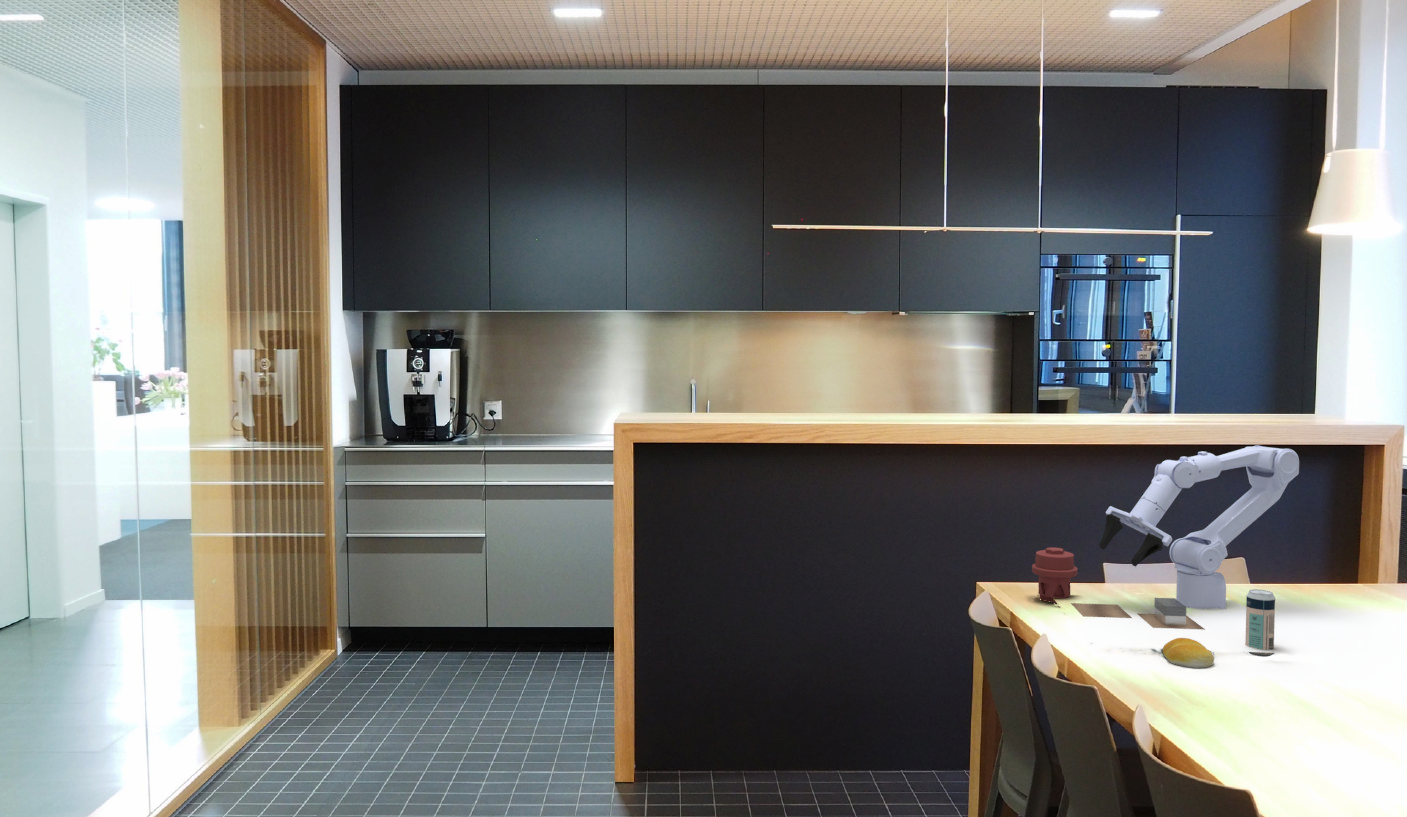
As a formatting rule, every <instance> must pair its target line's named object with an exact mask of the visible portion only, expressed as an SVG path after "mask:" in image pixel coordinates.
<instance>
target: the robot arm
mask: <svg viewBox="0 0 1407 817" xmlns="http://www.w3.org/2000/svg"><path fill="white" fill-rule="evenodd" d="M1244 467H1245V468H1246V473H1247V476H1248V481H1249V484H1250V485H1251V487H1250V489H1249V490H1248V491H1247V492H1245V493H1244V494H1243V495H1242V496H1241V497H1240V498H1238V499H1237V500H1236V501H1235V502H1234V503H1233V504H1231V505H1230V506H1229V507H1228V508H1227V509H1226V510H1224V511H1223V512H1222V513H1221V514H1220V515H1219V516H1217V518H1216V519H1214V520H1213V521H1212V522H1211V523H1209V524H1208V526H1206V527H1205V528H1204V529H1201V530H1198V531H1194V532H1193V531H1192V532H1189V534H1187V535H1186V536H1184V537H1182V538H1178V539H1175V540H1174V541H1173V538H1172V535H1169V533H1166V532H1165V531H1163V530H1161V529H1160V528H1158V527H1157V524H1159V522H1160V520H1162V518H1163V516H1164V515H1165V514H1166V512H1167V511H1168V509H1169V508H1170V507H1171V505H1172V504H1173V502H1174V501H1175V500H1176V498H1177V496H1178V495H1179V494H1180V493H1181V491H1182V490H1183V489H1190V488H1191V487H1192V486H1193V485H1195V484H1196V483H1198V482H1203V481H1206V480H1212V479H1215V478H1217V477H1219V476H1220V474H1221V472H1223V471H1227V470H1233V469H1237V468H1244ZM1299 474H1300V459H1299V455H1298V454H1297V452H1296V451H1295V450H1293V449H1291V448H1278V447H1270V446H1269V447H1268V446H1262V445H1258V444H1257V445H1254V446H1245V447H1244V448H1240V449H1237V450H1233V451H1229V452H1227V453H1223V454H1220V455H1215V454H1214V453H1211V452H1208V451H1198V452H1197V455H1193V456H1192V455H1191V456H1180V457H1179V459H1178V460H1173V459H1165V460H1164V461H1162V462H1161V463H1157V464H1156V466H1155V468H1154V476H1153V478H1152V480H1151V483H1150V485H1149V486H1148V487H1147V489H1146V490H1145V491H1144V492H1143V495H1142V496H1141V497H1140V498H1139V500H1138V501H1137V503H1136V504H1135V505H1134V507H1133V508H1132V510H1131V511H1130V512H1127V511H1124V510H1121V509H1118V508H1116V507H1115V506H1114V507H1113V506H1111V505H1110V506H1108V508H1107V509H1106V511H1105V514H1106V518H1105V526H1104V531H1103V534H1102V537H1101V540H1100V541H1099V544H1098V546H1099V547H1100V549H1102V550H1103V551H1104V550H1105V549H1106V548H1107V547H1108V545H1109V544H1110V543H1111V541H1112V539H1114V537H1115V536H1116V535H1117V534H1118V533H1119V532H1120V531H1121V530H1122V529H1123V524H1124V525H1126V526H1127V527H1130V528H1132V529H1134V530H1136V531H1137V532H1140V533H1142V534H1144V535H1145V536H1146V537H1145V538H1144V540H1143V542H1142V544H1141V545H1140V548H1139V549H1138V550H1137V552H1136V553H1135V554H1134V555H1133V557H1132V559H1131V561H1130V563H1131V565H1132V566H1134V567H1135V568H1136V567H1137V566H1138V565H1139V564H1140V563H1141V562H1142V561H1144V560H1145V559H1146V558H1148V557H1149V556H1152V555H1153V554H1155V553H1157V552H1161V550H1162V549H1163V546H1165V547H1169V545H1170V544H1171V545H1170V547H1169V551H1168V552H1169V558H1170V561H1172V563H1174V569H1176V590H1175V591H1176V592H1175V596H1176V597H1175V599H1176V600H1178V601H1179V602H1180V603H1182V604H1183V605H1184V606H1186V608H1188V609H1197V610H1198V609H1202V610H1203V609H1217V610H1218V609H1220V610H1222V609H1223V610H1226V607H1227V606H1226V604H1227V602H1226V601H1227V583H1226V579H1225V576H1224V575H1223V574H1222V572H1220V571H1219V572H1217V571H1218V569H1220V567H1221V565H1222V562H1224V559H1225V558H1227V557H1228V550H1227V546H1228V545H1229V544H1230V543H1231V542H1232V541H1233V540H1235V539H1236V538H1237V537H1238V536H1239V535H1241V533H1242V532H1244V530H1246V529H1247V528H1248V527H1249V526H1250V525H1251V524H1253V523H1254V522H1255V521H1256V520H1258V518H1260V517H1261V516H1262V515H1263V514H1264V513H1265V512H1267V510H1268V509H1270V508H1271V507H1272V506H1273V505H1275V504H1276V503H1277V502H1278V501H1279V500H1280V499H1281V497H1282V495H1283V493H1284V492H1285V489H1286V488H1287V486H1288V484H1289V483H1290V482H1291V481H1293V479H1294V478H1295V477H1297V476H1298V475H1299ZM1172 541H1173V542H1172Z"/></svg>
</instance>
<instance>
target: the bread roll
mask: <svg viewBox="0 0 1407 817" xmlns="http://www.w3.org/2000/svg"><path fill="white" fill-rule="evenodd" d="M1162 647H1163V648H1162V654H1163V656H1164V658H1165V659H1166V660H1167V661H1168V662H1169V663H1170V664H1172V665H1175V666H1176V665H1177V666H1181V667H1186V668H1193V669H1202V668H1203V669H1204V668H1207V667H1211V666H1212V665H1213V664H1214V661H1215V657H1214V654H1213V653H1212V651H1210V649H1207V647H1206V646H1205V645H1203V644H1202V643H1200V641H1197V640H1195V639H1191V638H1187V637H1176V638H1173V639H1172V640H1169V641H1168V642H1167V643H1165V644H1164V646H1162Z"/></svg>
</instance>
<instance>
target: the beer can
mask: <svg viewBox="0 0 1407 817" xmlns="http://www.w3.org/2000/svg"><path fill="white" fill-rule="evenodd" d="M1245 603H1246V604H1245V606H1246V608H1245V609H1246V610H1245V616H1246V617H1245V640H1244V641H1245V644H1244V645H1245V646H1246V647H1248V648H1251V649H1255V650H1260V651H1248V654H1250V655H1253V656H1255V657H1265V658H1266V657H1270V656H1272V655H1274V654H1275V652H1265V651H1269V650H1274V649H1275V618H1276V617H1275V615H1276V597H1275V595H1274V593H1273V591H1270V590H1265V589H1257V588H1256V589H1249V591H1248V593H1246V602H1245ZM1261 650H1264V652H1263V651H1262V652H1261Z"/></svg>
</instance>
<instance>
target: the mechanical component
mask: <svg viewBox="0 0 1407 817" xmlns="http://www.w3.org/2000/svg"><path fill="white" fill-rule="evenodd" d="M1074 562H1075V555H1074V553H1072V552H1069V551H1065V549H1064V548H1061V547H1056V546H1055V547H1054V546H1053V547H1051V546H1050V547H1046V549H1042V550H1037V551H1036V552H1035V563H1033V564H1032V566H1031V572H1032V573H1033V574H1034V575H1036V576H1038V585H1037V586H1038V587H1037V588H1038V592H1037V593H1038V595H1039V598H1038V599H1039V600H1040V599H1041V600H1040V601H1044V600H1045V602H1048V601H1050V602H1049V603H1053V604H1054V605H1057V604H1058V602H1056V600H1055V599H1059V600H1060V599H1066V598H1069V597H1071V580H1072V578H1075V577H1076V576H1078V574H1079V573H1078V569H1079V568H1078V567H1077V566H1075V564H1074Z"/></svg>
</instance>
